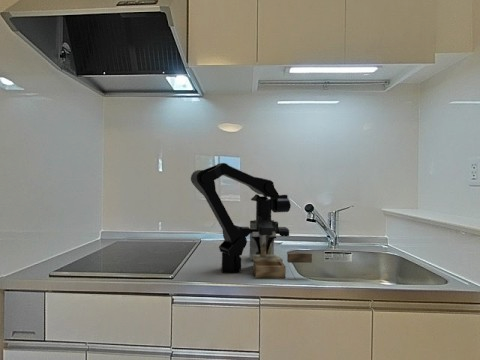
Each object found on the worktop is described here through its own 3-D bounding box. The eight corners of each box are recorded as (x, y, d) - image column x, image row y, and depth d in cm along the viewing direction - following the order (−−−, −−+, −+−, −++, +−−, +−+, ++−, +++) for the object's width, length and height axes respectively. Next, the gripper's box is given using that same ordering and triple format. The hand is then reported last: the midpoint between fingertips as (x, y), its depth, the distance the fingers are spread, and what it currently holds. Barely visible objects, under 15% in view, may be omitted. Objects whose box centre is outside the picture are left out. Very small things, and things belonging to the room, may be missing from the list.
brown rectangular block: (288, 262, 124) (288, 253, 124) (287, 261, 126) (287, 252, 126) (311, 262, 125) (311, 253, 125) (310, 261, 127) (310, 252, 127)
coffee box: (261, 256, 158) (262, 218, 158) (274, 258, 154) (274, 220, 154) (248, 259, 151) (249, 220, 151) (261, 262, 147) (262, 221, 147)
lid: (255, 262, 134) (255, 248, 134) (252, 257, 142) (252, 244, 141) (282, 262, 134) (282, 248, 134) (278, 257, 142) (278, 244, 142)
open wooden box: (256, 278, 124) (256, 266, 123) (253, 272, 131) (253, 260, 131) (285, 278, 124) (285, 266, 124) (280, 271, 132) (281, 260, 132)
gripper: (240, 214, 130) (239, 259, 130) (292, 215, 131) (292, 259, 131) (238, 211, 141) (237, 252, 141) (286, 212, 142) (285, 252, 143)
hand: (262, 254), depth 139 cm, fingers closed on lid, 2 cm apart
